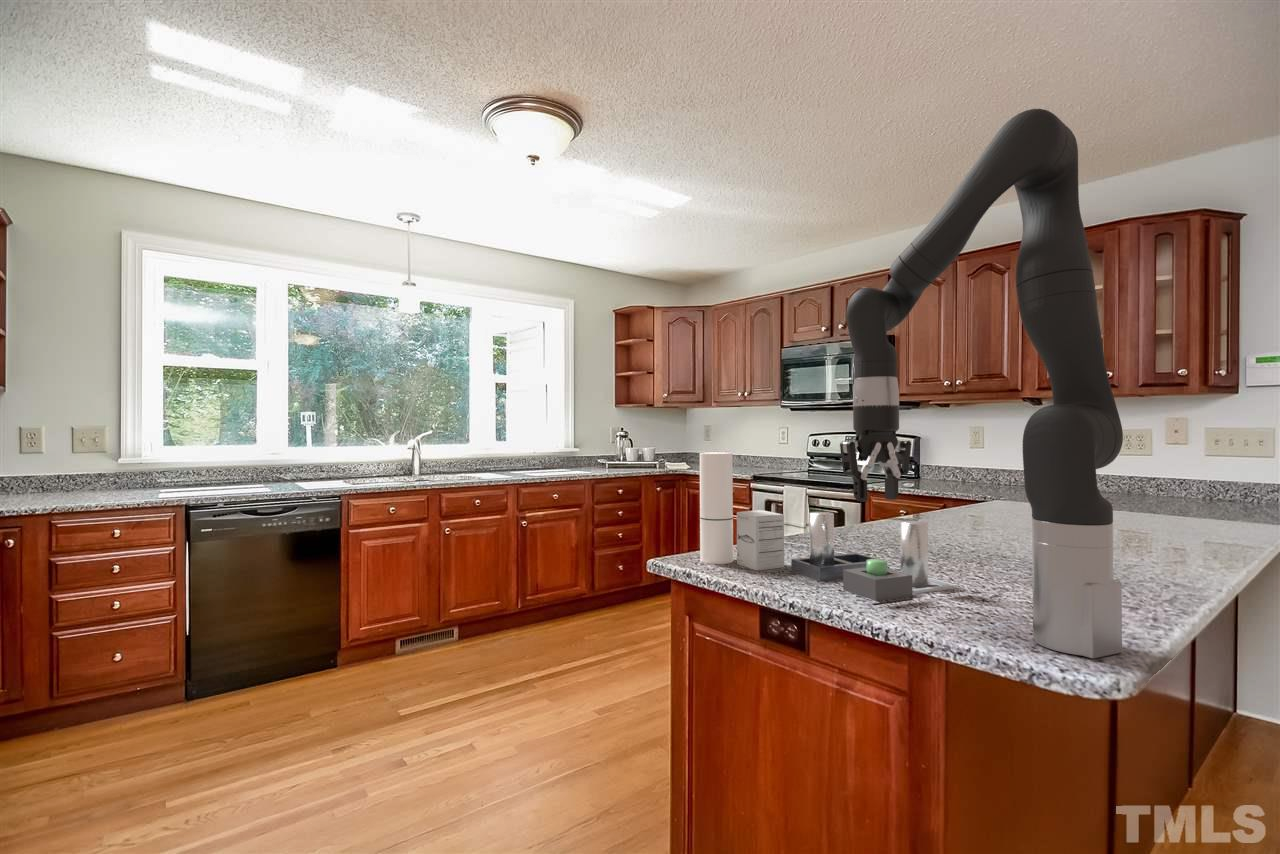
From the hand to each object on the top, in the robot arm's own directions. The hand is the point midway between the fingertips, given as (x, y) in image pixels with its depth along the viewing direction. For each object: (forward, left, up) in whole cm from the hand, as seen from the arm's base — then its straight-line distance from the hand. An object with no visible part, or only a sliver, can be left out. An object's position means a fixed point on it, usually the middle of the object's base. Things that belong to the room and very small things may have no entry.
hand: (876, 499), depth 109 cm
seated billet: (+15, 0, -16) cm, 22 cm away
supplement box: (+27, +6, -18) cm, 33 cm away
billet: (+2, -11, -17) cm, 20 cm away
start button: (0, 0, -14) cm, 14 cm away
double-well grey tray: (+15, -4, -18) cm, 23 cm away
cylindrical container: (+35, +12, -18) cm, 41 cm away
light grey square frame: (+2, -11, -18) cm, 21 cm away
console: (0, 0, -18) cm, 18 cm away
